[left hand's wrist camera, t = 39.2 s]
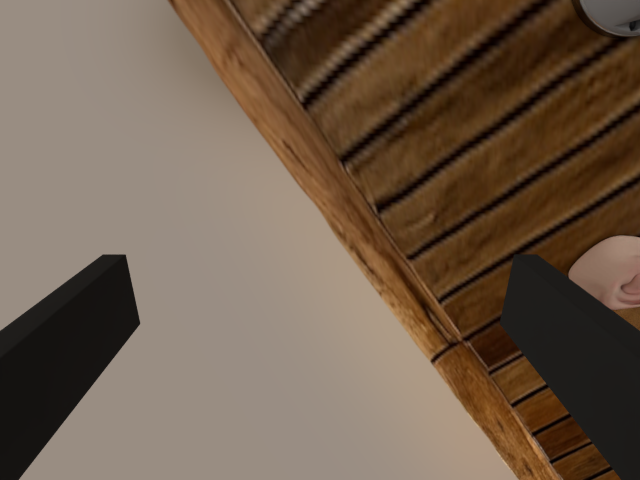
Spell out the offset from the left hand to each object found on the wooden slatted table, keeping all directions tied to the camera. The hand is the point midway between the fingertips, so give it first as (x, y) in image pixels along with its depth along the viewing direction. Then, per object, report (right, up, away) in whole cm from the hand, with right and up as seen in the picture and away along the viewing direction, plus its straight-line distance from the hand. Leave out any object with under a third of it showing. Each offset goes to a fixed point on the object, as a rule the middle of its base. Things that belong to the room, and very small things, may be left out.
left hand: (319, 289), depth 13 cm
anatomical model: (+43, -3, +41) cm, 60 cm away
